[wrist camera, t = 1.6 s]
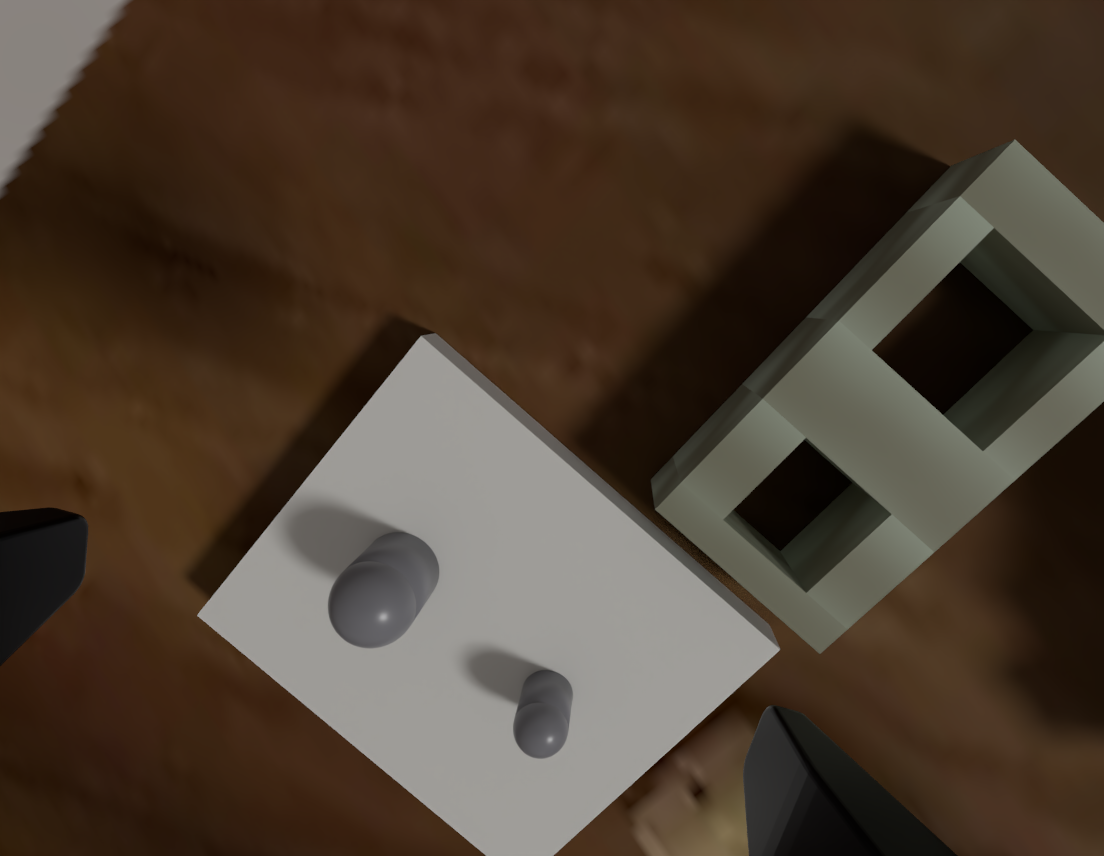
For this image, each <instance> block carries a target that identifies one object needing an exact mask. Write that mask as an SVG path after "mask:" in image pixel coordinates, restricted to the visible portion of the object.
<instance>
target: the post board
mask: <svg viewBox="0 0 1104 856" xmlns="http://www.w3.org/2000/svg"><path fill="white" fill-rule="evenodd" d="M197 616H198V617H200V618H201V619H202V620H203V621H204V622H206V623H207V624H208V625H209V626H210V627H212V628H213V629H214V630H215V631H216V632H218V633H219V634H220V635H221V636H222V637H224V638H225V639H226V640H227V641H228V642H230V643H231V644H232V645H233V646H234V647H236V648H237V649H238V650H239V651H241V652H242V653H243V654H244V655H245V656H247V657H248V658H249V659H250V660H251V661H253V662H254V663H255V664H256V665H257V666H259V667H260V668H261V669H262V670H263V671H265V672H266V673H267V674H268V675H269V676H271V677H272V678H273V679H274V680H275V681H277V682H278V683H279V684H280V685H281V686H283V687H284V688H285V689H286V690H287V691H289V692H290V693H291V694H292V695H293V696H295V697H296V698H297V699H298V700H299V701H301V702H302V703H303V704H304V705H305V706H307V707H308V708H309V709H310V710H312V711H313V712H314V713H315V714H316V715H318V716H319V717H320V718H321V719H322V720H324V721H325V722H326V723H327V724H328V725H330V726H331V727H332V728H333V729H334V730H336V731H337V732H338V733H339V734H340V735H342V736H343V737H344V738H345V739H346V740H348V741H349V742H350V743H351V744H352V745H354V746H355V747H356V748H357V749H358V750H360V751H361V752H362V753H363V754H364V755H366V756H367V757H368V758H369V759H370V760H372V761H373V762H374V763H375V764H376V765H378V766H379V767H380V768H381V769H383V770H384V771H385V772H386V773H387V774H389V775H390V776H391V777H392V778H393V779H395V780H396V781H397V782H398V783H399V784H401V785H402V786H403V787H404V788H405V789H407V790H408V791H409V792H410V793H411V794H413V795H414V796H415V797H416V798H417V799H419V800H420V801H421V802H422V803H423V804H425V805H426V806H427V807H428V808H429V809H431V810H432V811H433V812H434V813H435V814H437V815H438V816H439V817H440V818H441V819H443V820H444V821H445V822H446V823H447V824H449V825H450V826H451V827H452V828H454V829H455V830H456V831H457V832H458V833H460V834H461V835H462V836H463V837H464V838H466V839H467V840H468V841H469V842H470V843H472V844H473V845H474V846H475V847H476V848H478V849H479V850H480V851H481V852H482V853H484V854H485V855H486V856H553V855H554V854H555V853H557V852H558V851H559V850H560V849H561V848H562V847H563V846H564V845H565V844H566V843H568V842H569V841H570V840H571V839H572V838H573V837H574V836H575V835H576V834H577V833H579V832H580V831H581V830H582V829H583V828H584V827H585V826H586V825H587V824H589V823H590V822H591V821H592V820H593V819H594V818H595V817H596V816H597V815H598V814H600V813H601V812H602V811H603V810H604V809H605V808H606V807H607V806H608V805H609V804H611V803H612V802H613V801H614V800H615V799H616V798H617V797H618V796H619V795H621V794H622V793H623V792H624V791H625V790H626V789H627V788H628V787H629V786H630V785H632V784H633V783H634V782H635V781H636V780H637V779H638V778H639V777H640V776H641V775H643V774H644V773H645V772H646V771H647V770H648V769H649V768H650V767H651V766H652V765H654V764H655V763H656V762H657V761H658V760H659V759H660V758H661V757H662V756H664V755H665V754H666V753H667V752H668V751H669V750H670V749H671V748H672V747H673V746H675V745H676V744H677V743H678V742H679V741H680V740H681V739H682V738H683V737H684V736H686V735H687V734H688V733H689V732H690V731H691V730H692V729H693V728H694V727H695V726H697V725H698V724H699V723H700V722H701V721H702V720H703V719H704V718H705V717H707V716H708V715H709V714H710V713H711V712H712V711H713V710H714V709H715V708H716V707H718V706H719V705H720V704H721V703H722V702H723V701H724V700H725V699H726V698H727V697H729V696H730V695H731V694H732V693H733V692H734V691H735V690H736V689H737V688H738V687H740V686H741V685H742V684H743V683H744V682H745V681H746V680H747V679H748V678H750V677H751V676H752V675H753V674H754V673H755V672H756V671H757V670H758V669H759V668H761V667H762V666H763V665H764V664H765V663H766V662H767V661H768V660H769V659H770V658H772V657H773V656H774V655H775V654H776V653H777V652H778V651H779V650H780V647H779V645H778V643H777V641H776V639H775V636H774V634H773V632H772V630H771V627H770V625H769V624H768V623H767V622H765V621H764V620H763V619H762V618H761V617H760V616H759V615H757V614H756V613H755V612H754V611H753V610H752V609H751V608H749V607H748V606H747V605H746V604H745V603H744V602H743V601H741V600H740V599H739V598H738V597H737V596H736V595H735V594H733V593H732V592H731V591H730V590H729V589H728V588H727V587H725V586H724V585H723V584H722V583H721V582H720V581H718V580H717V579H716V578H715V577H714V576H713V575H712V574H710V573H709V572H708V571H707V570H706V569H705V568H704V567H702V566H701V565H700V564H699V563H698V562H697V561H696V560H694V559H693V558H692V557H691V556H690V555H689V554H688V553H686V552H685V551H684V550H683V549H682V548H681V547H680V546H678V545H677V544H676V543H675V542H674V541H673V540H672V539H670V538H669V537H668V536H667V535H666V534H665V533H664V532H662V531H661V530H660V529H659V528H658V527H657V526H656V525H654V524H653V523H652V522H651V521H650V520H649V519H648V518H646V517H645V516H644V515H643V514H642V513H641V512H640V511H638V510H637V509H636V508H635V507H634V506H633V505H632V504H630V503H629V502H628V501H627V500H626V499H625V498H624V497H622V496H621V495H620V494H619V493H618V492H617V491H616V490H614V489H613V488H612V487H611V486H610V485H609V484H608V483H606V482H605V481H604V480H603V479H602V478H601V477H600V476H598V475H597V474H596V473H595V472H594V471H593V470H592V469H590V468H589V467H588V466H587V465H586V464H585V463H584V462H582V461H581V460H580V459H579V458H578V457H577V456H576V455H574V454H573V453H572V452H571V451H570V450H569V449H568V448H566V447H565V446H564V445H563V444H562V443H561V442H559V441H558V440H557V439H556V438H555V437H554V436H553V435H551V434H550V433H549V432H548V431H547V430H546V429H545V428H543V427H542V426H541V425H540V424H539V423H538V422H537V421H535V420H534V419H533V418H532V417H531V416H530V415H529V414H527V413H526V412H525V411H524V410H523V409H522V408H521V407H519V406H518V405H517V404H516V403H515V402H514V401H513V400H511V399H510V398H509V397H508V396H507V395H506V394H505V393H503V392H502V391H501V390H500V389H499V388H498V387H497V386H495V385H494V384H493V383H492V382H491V381H490V380H489V379H487V378H486V377H485V376H484V375H483V374H482V373H481V372H479V371H478V370H477V369H476V368H475V367H474V366H473V365H471V364H470V363H469V362H468V361H467V360H466V359H465V358H463V357H462V356H461V355H460V354H459V353H458V352H457V351H455V350H454V349H453V348H452V347H451V346H450V345H449V344H447V343H446V342H445V341H444V340H443V339H442V338H441V337H439V336H438V335H437V334H436V333H434V334H428V335H423V336H420V338H419V339H418V340H417V341H416V343H415V344H414V345H413V346H412V348H411V349H410V350H409V351H408V353H407V354H406V355H405V356H404V358H403V359H402V360H401V361H400V363H399V364H398V365H397V366H396V368H395V369H394V370H393V371H392V373H391V374H390V375H389V376H388V378H387V379H386V380H385V381H384V383H383V384H382V385H381V386H380V388H379V389H378V390H377V391H376V393H375V394H374V395H373V396H372V398H371V399H370V400H369V401H368V403H367V404H366V405H365V406H364V408H363V409H362V410H361V411H360V413H359V414H358V415H357V416H356V418H355V419H354V420H353V421H352V423H351V424H350V425H349V426H348V428H347V429H346V430H345V431H344V433H343V434H342V435H341V436H340V438H339V439H338V440H337V441H336V443H335V444H334V445H333V446H332V448H331V449H330V450H329V451H328V453H327V454H326V455H325V456H324V457H323V459H322V460H321V461H320V462H319V464H318V465H317V466H316V467H315V469H314V470H313V471H312V472H311V474H310V475H309V476H308V477H307V479H306V480H305V481H304V482H303V484H302V485H301V486H300V487H299V489H298V490H297V491H296V492H295V494H294V495H293V496H292V497H291V499H290V500H289V501H288V502H287V504H286V505H285V506H284V507H283V509H282V510H281V511H280V512H279V514H278V515H277V516H276V517H275V519H274V520H273V521H272V522H271V524H270V525H269V526H268V527H267V529H266V530H265V531H264V532H263V534H262V535H261V536H260V537H259V539H258V540H257V541H256V542H255V544H254V545H253V546H252V547H251V549H250V550H249V551H248V552H247V554H246V555H245V556H244V557H243V559H242V560H241V561H240V562H239V564H238V565H237V566H236V567H235V569H234V570H233V571H232V572H231V574H230V575H229V576H228V577H227V579H226V580H225V581H224V582H223V584H222V585H221V586H220V587H219V589H218V590H217V591H216V592H215V594H214V595H213V596H212V597H211V599H210V600H209V601H208V602H207V604H206V605H205V606H204V607H203V609H202V610H201V611H200V612H199V614H198V615H197Z"/></svg>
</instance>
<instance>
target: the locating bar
mask: <svg viewBox="0 0 1104 856" xmlns="http://www.w3.org/2000/svg"><path fill="white" fill-rule="evenodd" d="M959 262H960V263H961V264H962V265H963V266H965V267H966V268H967V269H968V270H969V271H970V272H971V273H972V274H973V275H974V276H975V277H976V278H978V279H979V280H980V281H981V282H982V283H983V284H984V285H985V286H986V287H987V288H988V289H989V290H991V291H992V292H993V293H994V294H995V295H996V296H997V297H998V298H999V299H1000V300H1001V301H1002V302H1003V303H1005V304H1006V305H1007V306H1008V307H1009V308H1010V309H1011V310H1012V311H1013V312H1014V313H1015V314H1016V315H1018V316H1019V317H1020V318H1021V319H1022V320H1023V321H1024V322H1025V323H1026V324H1027V325H1028V326H1029V327H1031V328H1032V329H1033V331H1032V332H1031V333H1029V334H1028V335H1027V336H1026V337H1025V338H1024V339H1023V340H1022V341H1021V342H1020V343H1019V344H1018V345H1017V346H1016V347H1015V348H1014V349H1013V350H1011V351H1010V352H1009V353H1008V354H1007V355H1006V356H1005V357H1004V358H1003V359H1002V360H1001V361H1000V362H999V363H998V364H997V365H996V366H994V367H993V368H992V369H991V370H990V371H989V372H988V373H987V374H986V375H985V376H984V377H983V378H982V379H981V380H980V381H979V382H978V383H976V384H975V385H974V386H973V387H972V388H971V389H970V390H969V391H968V392H967V393H966V394H965V395H964V396H963V397H962V398H961V399H960V400H958V401H957V402H956V403H955V404H954V405H953V406H952V407H951V408H950V409H949V410H948V411H947V412H946V413H945V414H944V415H942V414H941V413H940V412H939V411H938V410H937V409H936V408H935V407H933V406H932V405H931V404H930V403H929V402H928V401H927V400H926V399H925V398H924V397H922V396H921V395H920V394H919V393H918V392H917V391H916V390H915V389H914V388H913V387H911V386H910V385H909V384H908V383H907V382H906V381H905V380H904V379H903V378H902V377H900V376H899V375H898V374H897V373H896V372H895V371H894V370H893V369H892V368H891V367H889V366H888V365H887V364H886V363H885V362H884V361H883V360H882V359H881V358H880V357H878V356H877V355H876V354H875V353H874V352H873V351H872V349H873V348H874V347H875V346H876V345H877V344H878V343H879V342H880V341H881V340H882V339H883V338H884V337H885V336H886V335H887V334H888V333H889V332H890V331H891V330H892V329H893V328H894V327H895V326H896V325H897V324H898V323H899V322H900V321H901V320H902V319H903V318H904V317H905V316H906V315H907V314H908V313H909V312H910V311H911V310H912V309H913V308H914V307H915V306H916V305H917V304H918V303H919V302H920V301H921V300H922V299H923V298H924V297H925V296H926V295H927V294H928V293H929V292H930V291H931V290H932V289H933V288H934V287H935V286H936V285H937V284H938V283H939V282H940V281H941V280H942V279H943V278H944V277H945V276H946V275H947V274H948V273H949V272H950V271H951V270H952V269H953V268H954V267H955V266H956V265H957V264H958V263H959ZM1103 402H1104V223H1103V222H1102V221H1101V220H1100V219H1099V218H1098V217H1097V216H1096V215H1095V214H1094V213H1093V212H1091V211H1090V210H1089V209H1088V208H1087V207H1086V206H1085V205H1084V204H1083V203H1082V202H1081V201H1080V200H1079V199H1078V198H1077V197H1076V196H1074V195H1073V194H1072V193H1071V192H1070V191H1069V190H1068V189H1067V188H1066V187H1065V186H1064V185H1063V184H1062V183H1061V182H1060V181H1059V180H1057V179H1056V178H1055V177H1054V176H1053V175H1052V174H1051V173H1050V172H1049V171H1048V170H1047V169H1046V168H1045V167H1044V166H1043V165H1041V164H1040V163H1039V162H1038V161H1037V160H1036V159H1035V158H1034V157H1033V156H1032V155H1031V154H1030V153H1029V152H1028V151H1027V150H1026V149H1024V148H1023V147H1022V146H1021V145H1020V144H1019V143H1018V142H1017V141H1016V140H1013V141H1010V142H1008V143H1005V144H1003V145H1001V146H998V147H996V148H993V149H991V150H988V151H986V152H984V153H981V154H979V155H976V156H974V157H971V158H969V159H967V160H964V161H962V162H959V163H957V164H954V165H952V166H951V167H950V168H949V169H948V170H947V171H946V172H945V173H944V174H943V175H942V176H941V177H940V178H939V179H938V180H937V181H936V182H935V183H934V184H933V185H932V186H931V187H930V188H929V190H928V191H927V192H926V193H925V194H924V195H923V196H922V197H921V198H920V199H919V200H918V201H917V202H916V203H915V204H914V205H913V206H912V207H911V208H910V209H909V210H908V211H907V212H906V214H905V215H904V216H903V217H902V218H901V219H900V220H899V221H898V222H897V223H896V224H895V225H894V226H893V227H892V228H891V229H890V230H889V231H888V232H887V233H886V234H885V235H884V236H883V238H882V239H881V240H880V241H879V242H878V243H877V244H876V245H875V246H874V247H873V248H872V249H871V250H870V251H869V252H868V253H867V254H866V255H865V256H864V257H863V258H862V259H861V260H860V262H859V263H858V264H857V265H856V266H855V267H854V268H853V269H852V270H851V271H850V272H849V273H848V274H847V275H846V276H845V277H844V278H843V279H842V280H841V281H840V282H839V283H838V284H837V286H836V287H835V288H834V289H833V290H832V291H831V292H830V293H829V294H828V295H827V296H826V297H825V298H824V299H823V300H822V301H821V302H820V303H819V304H818V305H817V306H816V307H815V308H814V310H813V311H812V312H811V313H810V314H809V315H808V316H807V317H806V318H805V319H804V320H803V321H802V322H801V323H800V324H799V325H798V326H797V327H796V328H795V329H794V330H793V331H792V332H791V334H790V335H789V336H788V337H787V338H786V339H785V340H784V341H783V342H782V343H781V344H780V345H779V346H778V347H777V348H776V349H775V350H774V351H773V352H772V353H771V354H770V355H769V356H768V358H767V359H766V360H765V361H764V362H763V363H762V364H761V365H760V366H759V367H758V368H757V369H756V370H755V371H754V372H753V373H752V374H751V375H750V376H749V377H748V378H747V379H746V380H745V382H744V383H743V384H742V385H741V386H740V387H739V388H738V389H737V390H736V391H735V392H734V393H733V394H732V395H731V396H730V397H729V398H728V399H727V400H726V401H725V402H724V403H723V405H722V406H721V407H720V408H719V409H718V410H717V411H716V412H715V413H714V414H713V415H712V416H711V417H710V418H709V419H708V420H707V421H706V422H705V423H704V424H703V425H702V426H701V427H700V429H699V430H698V431H697V432H696V433H695V434H694V435H693V436H692V437H691V438H690V439H689V440H688V441H687V442H686V443H685V444H684V445H683V446H682V447H681V448H680V449H679V450H678V451H677V453H676V454H675V455H674V456H673V457H672V458H671V459H670V460H669V461H668V462H667V463H666V464H665V465H664V466H663V467H662V468H661V469H660V470H659V471H658V472H657V473H656V474H655V475H654V477H653V478H652V479H651V486H652V493H653V499H654V506H655V510H656V511H657V512H658V513H660V514H661V515H662V516H663V517H664V518H665V519H666V520H668V521H669V522H670V523H671V524H672V525H673V526H674V527H676V528H677V529H678V530H679V531H680V532H681V533H682V534H684V535H685V536H686V537H687V538H688V539H689V540H690V541H692V542H693V543H694V544H695V545H696V546H697V547H698V548H700V549H701V550H702V551H703V552H704V553H705V554H706V555H708V556H709V557H710V558H711V559H712V560H713V561H714V562H716V563H717V564H718V565H719V566H720V567H721V568H722V569H724V570H725V571H726V572H727V573H728V574H729V575H730V576H732V577H733V578H734V579H735V580H736V581H737V582H738V583H740V584H741V585H742V586H743V587H744V588H745V589H746V590H748V591H749V592H750V593H751V594H752V595H753V596H754V597H756V598H757V599H758V600H759V601H760V602H761V603H762V604H764V605H765V606H766V607H767V608H768V609H769V610H770V611H771V612H773V613H774V614H775V615H776V616H777V617H778V618H779V619H781V620H782V621H783V622H784V623H785V624H786V625H787V626H789V627H790V628H791V629H792V630H793V631H794V632H795V633H797V634H798V635H799V636H800V637H801V638H802V639H803V640H805V641H806V642H807V643H808V644H809V645H810V646H811V647H813V648H814V649H815V650H816V651H817V652H818V653H819V654H820V653H821V652H823V651H824V650H825V649H826V648H827V647H828V646H829V645H830V644H832V643H833V642H834V641H835V640H836V639H837V638H838V637H839V636H841V635H842V634H843V633H844V632H845V631H846V630H847V629H848V628H850V627H851V626H852V625H853V624H854V623H855V622H856V621H857V620H859V619H860V618H861V617H862V616H863V615H864V614H865V613H866V612H868V611H869V610H870V609H871V608H872V607H873V606H874V605H875V604H877V603H878V602H879V601H880V600H881V599H882V598H883V597H884V596H886V595H887V594H888V593H889V592H890V591H891V590H892V589H893V588H895V587H896V586H897V585H898V584H899V583H900V582H901V581H902V580H904V579H905V578H906V577H907V576H908V575H909V574H910V573H911V572H913V571H914V570H915V569H916V568H917V567H918V566H919V565H920V564H922V563H923V562H924V561H925V560H926V559H927V558H928V557H929V556H931V555H932V554H933V553H934V552H935V551H936V550H937V549H938V548H940V547H941V546H942V545H943V544H944V543H945V542H946V541H947V540H949V539H950V538H951V537H952V536H953V535H954V534H955V533H956V532H958V531H959V530H960V529H961V528H962V527H963V526H964V525H965V524H967V523H968V522H969V521H970V520H971V519H972V518H973V517H974V516H976V515H977V514H978V513H979V512H980V511H981V510H982V509H983V508H985V507H986V506H987V505H988V504H989V503H990V502H991V501H992V500H994V499H995V498H996V497H997V496H998V495H999V494H1000V493H1001V492H1003V491H1004V490H1005V489H1006V488H1007V487H1008V486H1009V485H1010V484H1012V483H1013V482H1014V481H1015V480H1016V479H1017V478H1018V477H1019V476H1021V475H1022V474H1023V473H1024V472H1025V471H1026V470H1027V469H1028V468H1029V467H1031V466H1032V465H1033V464H1034V463H1035V462H1036V461H1037V460H1038V459H1040V458H1041V457H1042V456H1043V455H1044V454H1045V453H1046V452H1047V451H1049V450H1050V449H1051V448H1052V447H1053V446H1054V445H1055V444H1056V443H1058V442H1059V441H1060V440H1061V439H1062V438H1063V437H1064V436H1065V435H1067V434H1068V433H1069V432H1070V431H1071V430H1072V429H1073V428H1074V427H1076V426H1077V425H1078V424H1079V423H1080V422H1081V421H1082V420H1083V419H1085V418H1086V417H1087V416H1088V415H1089V414H1090V413H1091V412H1092V411H1094V410H1095V409H1096V408H1097V407H1098V406H1099V405H1100V404H1101V403H1103ZM803 440H805V441H806V442H807V443H809V444H810V445H811V446H812V447H813V448H814V449H815V450H816V451H818V452H819V453H820V454H821V455H822V456H823V457H824V458H825V459H827V460H828V461H829V462H830V463H831V464H832V465H833V466H834V467H835V468H837V469H838V470H839V471H840V472H841V473H842V474H843V475H844V476H846V477H847V478H848V479H849V480H850V481H851V482H852V484H851V485H849V486H848V487H847V488H846V489H845V490H844V491H843V492H842V493H841V494H840V495H839V496H838V497H837V498H836V499H835V500H834V501H833V502H832V503H831V504H829V505H828V506H827V507H826V508H825V509H824V510H823V511H822V512H821V513H820V514H819V515H818V516H817V517H816V518H815V519H814V520H813V521H812V522H811V523H810V524H808V525H807V526H806V527H805V528H804V529H803V530H802V531H801V532H800V533H799V534H798V535H797V536H796V537H795V538H794V539H793V540H792V541H791V542H790V543H788V544H787V545H786V546H785V547H784V548H783V549H782V550H781V551H779V550H778V549H777V548H776V547H775V546H774V545H773V544H772V543H770V542H769V541H768V540H767V539H766V538H765V537H764V536H762V535H761V534H760V533H759V532H758V531H757V530H756V529H755V528H753V527H752V526H751V525H750V524H749V523H748V522H747V521H745V520H744V519H743V518H742V517H741V516H740V515H739V514H738V513H736V512H735V511H734V510H733V509H734V508H736V507H737V506H738V505H739V504H740V503H741V502H742V501H743V500H744V499H745V498H746V497H747V496H748V495H749V494H750V493H751V492H752V491H753V490H754V489H755V488H756V487H757V486H758V485H759V484H760V483H761V482H762V481H763V480H764V479H765V478H766V477H767V476H768V475H769V474H770V473H771V472H772V471H773V470H774V469H775V468H776V467H777V466H778V465H779V464H780V463H781V462H782V461H783V460H784V459H785V458H786V457H787V456H788V455H789V454H790V453H791V452H792V451H793V450H794V449H795V448H796V447H797V446H798V445H799V444H800V443H801V442H802V441H803Z"/></svg>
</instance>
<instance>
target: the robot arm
mask: <svg viewBox="0 0 1104 856" xmlns="http://www.w3.org/2000/svg"><path fill="white" fill-rule="evenodd" d="M87 539H88V524H87V521H86V519H85V518H84V517H83V516H81V515H79V514H76V513H72V512H68V511H65V510H61V509H58V508H39V509H29V510H18V511H8V512H0V666H1V665H2V664H3V663H4V662H5V661H6V660H7V659H8V658H9V657H10V656H11V655H12V654H13V653H14V652H15V651H16V650H17V649H18V648H19V647H20V646H21V645H22V644H23V643H24V642H25V641H26V640H27V639H28V638H29V637H30V636H31V635H32V634H33V633H35V632H36V631H37V630H38V629H39V628H40V627H41V626H42V625H43V624H44V623H45V622H46V621H47V620H48V619H49V618H50V617H51V616H52V615H53V614H54V613H55V612H56V611H57V610H58V609H59V608H60V607H61V606H62V605H63V604H64V603H65V602H66V601H67V600H68V599H69V598H70V597H71V596H72V595H73V594H74V593H75V592H76V591H77V589H78V588H79V587H80V585H81V583H82V581H83V578H84V575H85V567H86V553H87ZM743 782H744V795H745V808H746V822H747V835H748V848H749V856H957V855H956V854H955V853H954V852H953V851H952V850H951V849H950V848H949V847H947V846H946V845H945V844H944V843H943V842H942V841H941V840H940V839H939V838H938V837H937V836H936V835H934V834H933V833H932V832H931V831H930V830H929V829H928V828H927V827H926V826H925V825H924V824H922V823H921V822H920V821H919V820H918V819H917V818H916V817H915V816H914V815H913V814H912V813H910V812H909V811H908V810H907V809H906V808H905V807H904V806H903V805H902V804H901V803H900V802H899V801H897V800H896V799H895V798H894V797H893V796H892V795H891V794H890V793H889V792H888V791H887V790H885V789H884V788H883V787H882V786H881V785H880V784H879V783H878V782H877V781H876V780H875V779H874V778H872V777H871V776H870V775H869V774H868V773H867V772H866V771H865V770H864V769H863V768H862V767H860V766H859V765H858V764H857V763H856V762H855V761H854V760H853V759H852V758H851V757H850V756H849V755H847V754H846V753H845V752H844V751H843V750H842V749H841V748H840V747H839V746H838V745H837V744H835V743H834V742H833V741H832V740H831V739H830V738H829V737H828V736H827V735H826V734H825V733H823V732H822V731H821V730H820V729H819V728H818V727H817V726H816V725H815V724H814V723H813V722H812V721H810V720H809V719H808V718H807V717H806V716H805V715H804V714H802V713H800V712H798V711H794V710H791V709H787V708H783V707H780V706H775V705H771V706H769V707H767V708H766V710H765V711H764V712H763V715H762V717H761V719H760V722H759V725H758V727H757V730H756V732H755V735H754V737H753V740H752V743H751V745H750V748H749V750H748V753H747V756H746V759H745V763H744V770H743Z"/></svg>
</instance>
